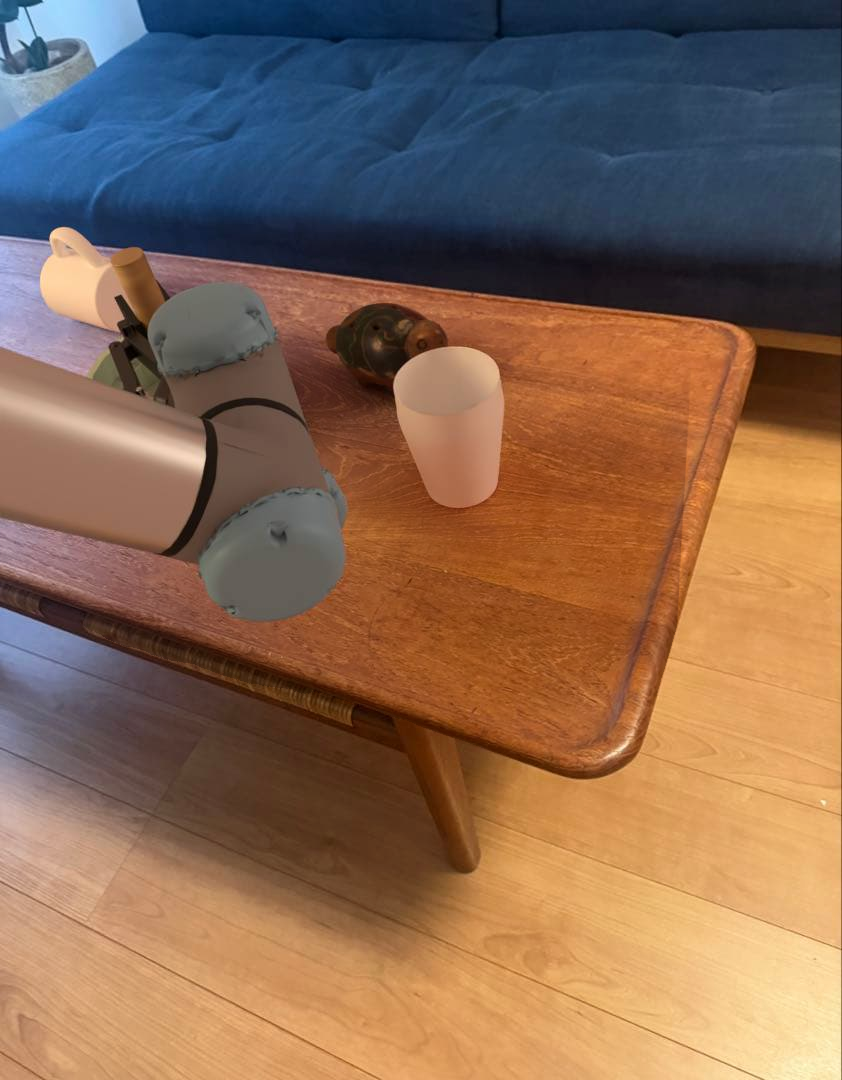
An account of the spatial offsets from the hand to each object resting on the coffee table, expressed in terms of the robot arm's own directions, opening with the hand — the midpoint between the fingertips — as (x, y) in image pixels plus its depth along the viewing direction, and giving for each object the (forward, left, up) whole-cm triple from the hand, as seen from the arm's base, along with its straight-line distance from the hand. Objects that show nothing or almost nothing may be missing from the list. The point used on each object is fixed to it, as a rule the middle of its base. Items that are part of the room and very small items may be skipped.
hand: (140, 300), depth 81 cm
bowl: (+2, -4, -12) cm, 13 cm away
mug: (-10, +19, -12) cm, 25 cm away
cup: (+27, -23, -12) cm, 37 cm away
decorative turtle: (+23, -5, -12) cm, 26 cm away
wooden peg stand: (+2, -5, -10) cm, 11 cm away
